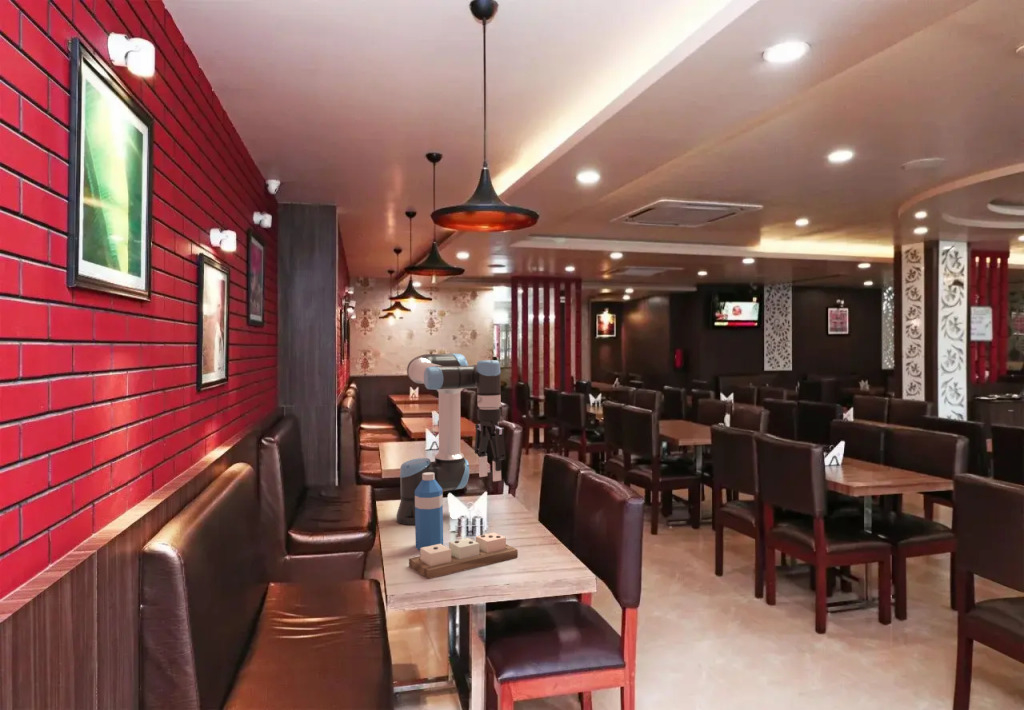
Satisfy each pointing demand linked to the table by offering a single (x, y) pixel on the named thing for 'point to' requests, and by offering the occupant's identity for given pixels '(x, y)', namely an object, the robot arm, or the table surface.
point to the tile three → (491, 542)
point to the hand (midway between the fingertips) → (490, 478)
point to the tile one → (435, 555)
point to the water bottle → (428, 512)
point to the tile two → (464, 548)
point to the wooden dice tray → (462, 562)
